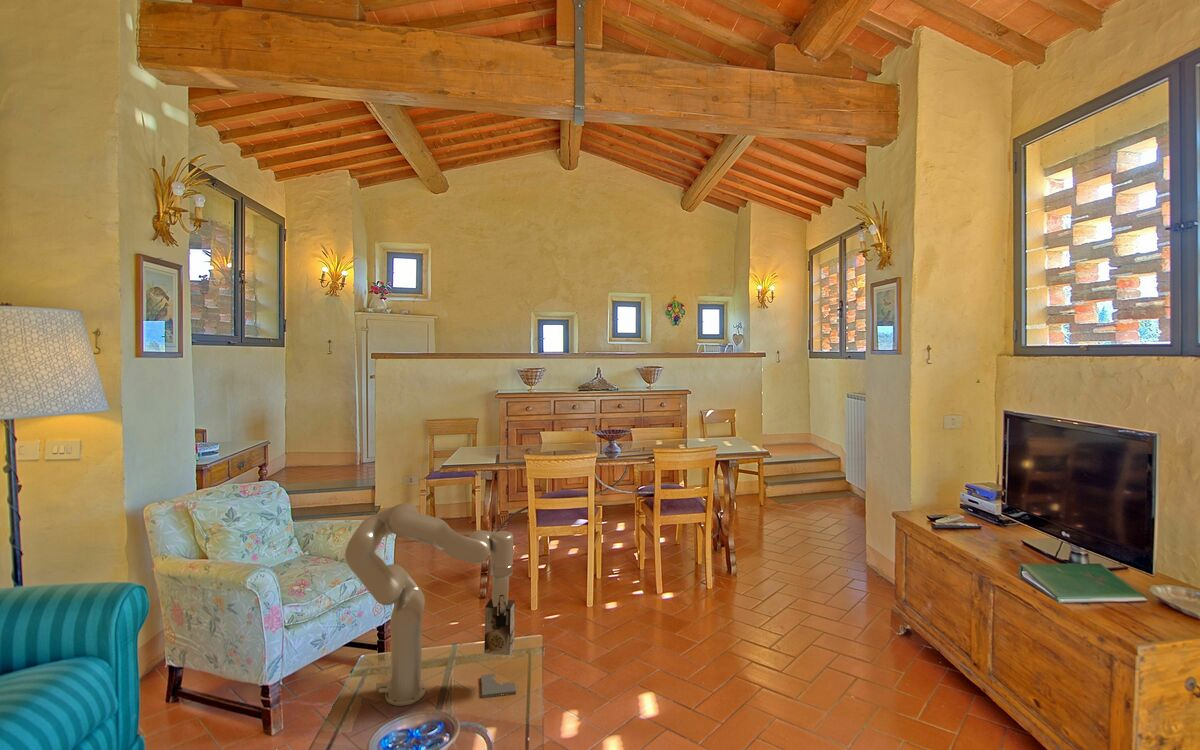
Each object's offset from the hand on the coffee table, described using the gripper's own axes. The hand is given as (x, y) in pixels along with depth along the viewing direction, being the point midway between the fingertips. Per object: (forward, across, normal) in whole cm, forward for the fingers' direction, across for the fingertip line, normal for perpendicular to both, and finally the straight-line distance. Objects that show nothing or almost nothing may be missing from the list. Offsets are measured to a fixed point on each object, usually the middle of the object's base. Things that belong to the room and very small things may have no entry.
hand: (500, 619), depth 185 cm
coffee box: (+11, 0, 0) cm, 11 cm away
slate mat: (+23, 0, 0) cm, 23 cm away
